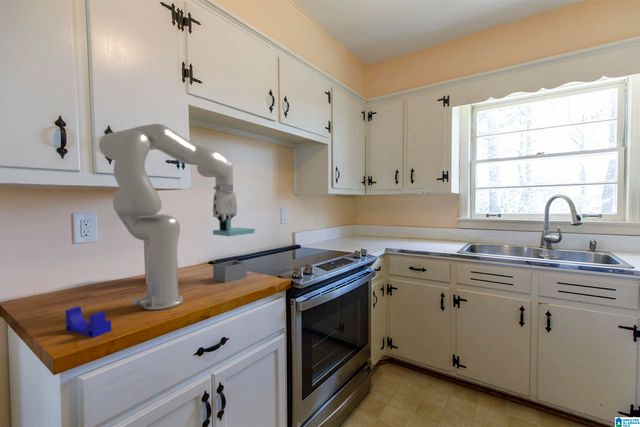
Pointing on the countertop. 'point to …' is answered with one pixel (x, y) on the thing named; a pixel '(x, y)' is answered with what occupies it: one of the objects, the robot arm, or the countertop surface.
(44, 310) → the countertop surface
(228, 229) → the lid
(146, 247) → the cracker box
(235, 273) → the tub
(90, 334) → the cable clip
